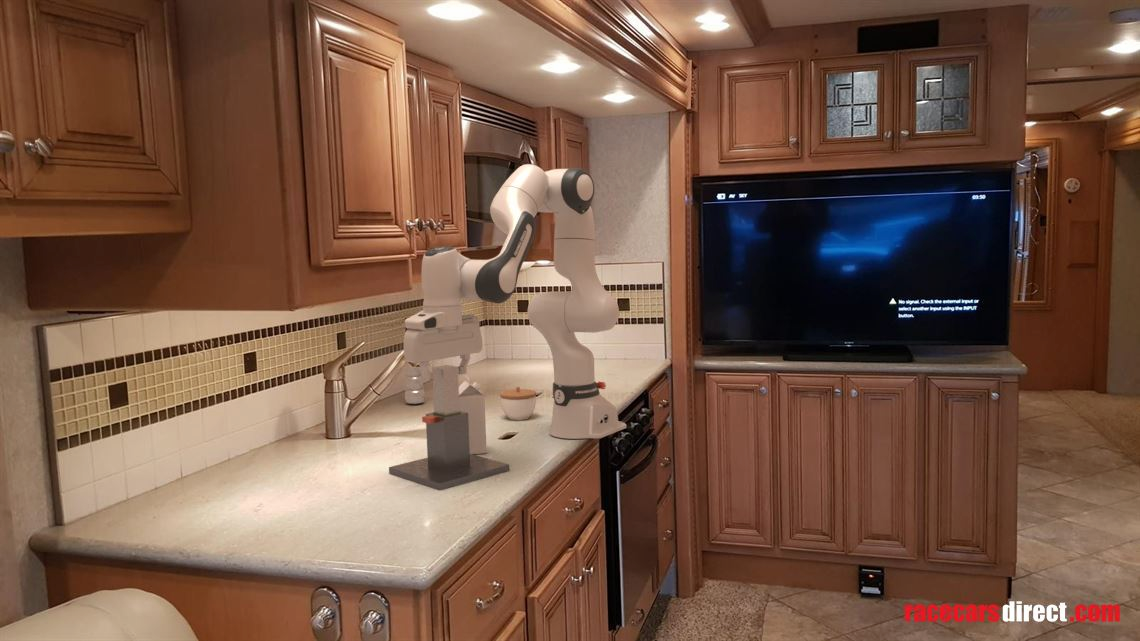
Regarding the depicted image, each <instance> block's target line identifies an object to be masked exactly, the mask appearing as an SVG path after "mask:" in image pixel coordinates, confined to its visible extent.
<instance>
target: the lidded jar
mask: <svg viewBox="0 0 1140 641" xmlns="http://www.w3.org/2000/svg"><path fill="white" fill-rule="evenodd" d="M499 396H500V406H501V409H502V411H503V413H504V415H505V416H506V417H507V418H508V419H509V420H511V421H523V420H528V419H529V418H530V417H531V415H532V414H533V413H534V412H535V408H536V405H537V404H536V403H537V392H536V390H534V389H527V388H526V389H525V388H524V389H523V388H521V387H520V386H516V388H515V389H514V388H513V389H507V390H504V391H501V392H500V393H499Z"/></svg>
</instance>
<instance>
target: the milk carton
mask: <svg viewBox="0 0 1140 641" xmlns="http://www.w3.org/2000/svg"><path fill="white" fill-rule="evenodd" d="M464 377H465V380H464V381H462V383H461V384H460V385H459V410H460V411H461V412H466V413H468V423H469V449H470V454H473V455H480V454H487V453H488V452H487V426H486V425H487V423H486V397H485V394H484V393H483V392H482V391H481V390H480V389H481V388H482V385H480V384H479V383H477V381H474V382H473V383H471V380H470V378H469V377H468V376H467V375H465V376H464Z"/></svg>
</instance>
